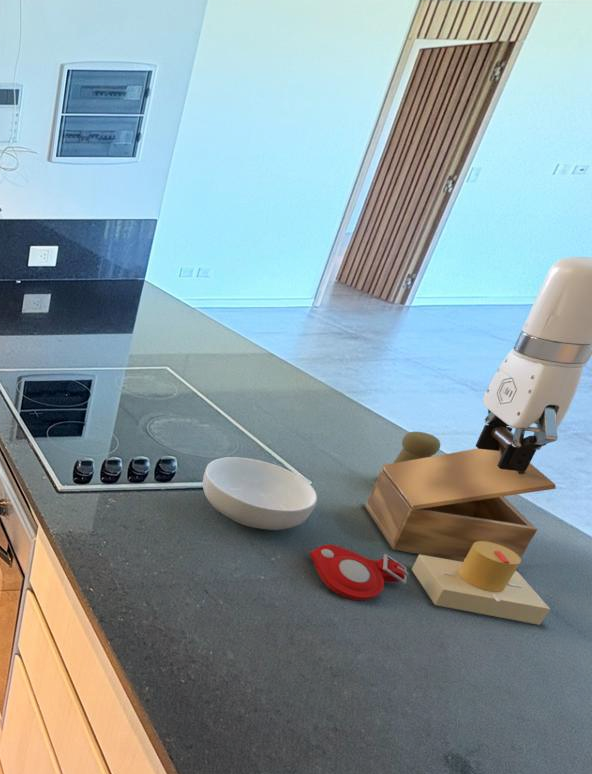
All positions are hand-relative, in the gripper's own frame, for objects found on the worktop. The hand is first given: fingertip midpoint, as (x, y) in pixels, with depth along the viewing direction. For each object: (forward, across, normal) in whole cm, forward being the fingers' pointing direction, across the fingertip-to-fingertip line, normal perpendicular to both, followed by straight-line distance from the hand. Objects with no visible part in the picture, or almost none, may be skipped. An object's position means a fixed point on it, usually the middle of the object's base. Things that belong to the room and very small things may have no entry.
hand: (499, 457), depth 94 cm
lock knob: (+13, +15, -4) cm, 20 cm away
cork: (+16, -16, -3) cm, 23 cm away
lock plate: (+16, +15, -4) cm, 22 cm away
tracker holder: (+15, +17, -20) cm, 30 cm away
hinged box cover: (+4, 0, -3) cm, 5 cm away
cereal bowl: (+15, +3, -32) cm, 35 cm away
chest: (+16, 0, -4) cm, 16 cm away
